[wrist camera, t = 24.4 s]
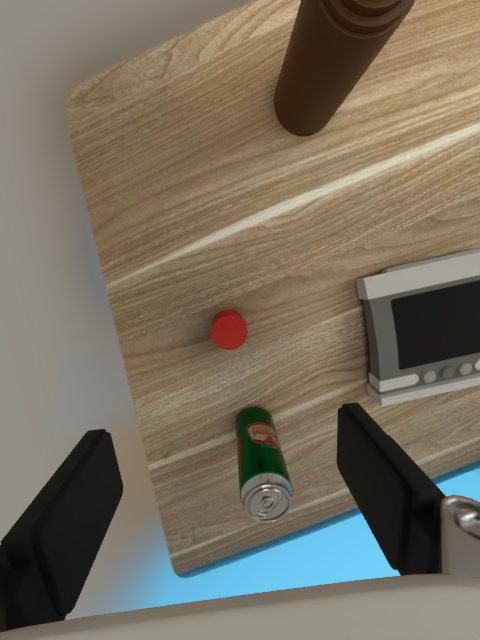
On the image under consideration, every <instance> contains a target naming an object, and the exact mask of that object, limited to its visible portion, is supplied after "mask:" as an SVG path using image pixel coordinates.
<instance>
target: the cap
mask: <svg viewBox="0 0 480 640" xmlns="http://www.w3.org/2000/svg"><path fill="white" fill-rule="evenodd" d="M211 329H212V332H211V334H212V339H213V341H214V342H215V344H216V345H217V346H219V347H220V348H222V349H226V350H233V349H236V348H238V347H240V346H241V345H242V344H243V343H244V342H245V340H246V337H247V328H246V323H245V321H244V319H243V317H242V316H241V315H240V314H239V313H237V312H235V311H232V310H226V311H223V312H221V313H219V314H218V315H217V316H216V317H215V319H214V322H213V324H212V328H211Z"/></svg>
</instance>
